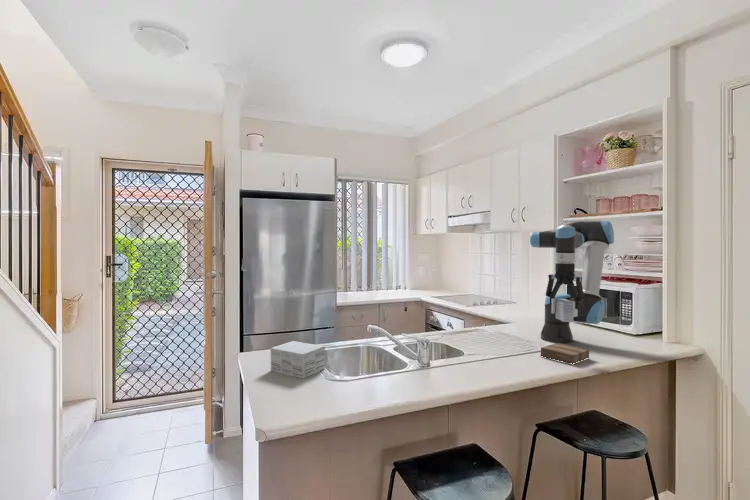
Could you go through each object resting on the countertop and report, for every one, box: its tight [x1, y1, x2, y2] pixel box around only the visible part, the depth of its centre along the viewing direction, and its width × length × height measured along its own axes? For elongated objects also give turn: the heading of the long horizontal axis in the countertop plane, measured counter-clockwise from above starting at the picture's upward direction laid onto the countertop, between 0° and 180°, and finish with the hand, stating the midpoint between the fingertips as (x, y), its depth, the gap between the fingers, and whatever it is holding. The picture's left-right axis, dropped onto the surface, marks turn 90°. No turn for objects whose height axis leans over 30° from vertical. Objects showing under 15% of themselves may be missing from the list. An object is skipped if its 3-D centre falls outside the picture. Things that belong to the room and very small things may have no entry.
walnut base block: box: [540, 342, 590, 364], centre depth 172 cm, size 14×14×4 cm
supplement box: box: [270, 340, 326, 379], centre depth 154 cm, size 17×13×9 cm
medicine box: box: [555, 299, 574, 323], centre depth 171 cm, size 8×4×9 cm, turn 178°
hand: (564, 314), depth 171 cm, fingers closed on medicine box, 9 cm apart
